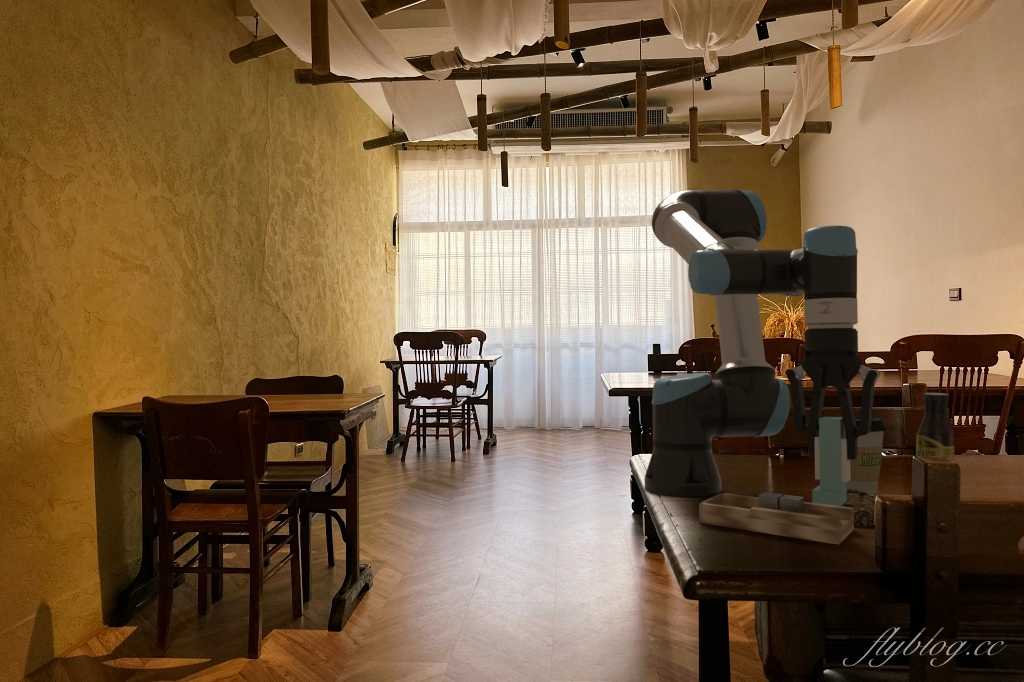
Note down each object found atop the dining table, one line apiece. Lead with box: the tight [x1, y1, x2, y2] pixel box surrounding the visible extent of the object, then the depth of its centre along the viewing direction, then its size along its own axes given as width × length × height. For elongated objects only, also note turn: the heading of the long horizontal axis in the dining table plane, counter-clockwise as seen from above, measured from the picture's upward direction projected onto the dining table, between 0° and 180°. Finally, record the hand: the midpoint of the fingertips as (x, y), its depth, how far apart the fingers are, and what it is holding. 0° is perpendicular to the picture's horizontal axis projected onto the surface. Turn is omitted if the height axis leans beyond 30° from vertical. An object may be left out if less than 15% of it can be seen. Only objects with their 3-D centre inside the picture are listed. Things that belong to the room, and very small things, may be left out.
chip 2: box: [780, 494, 805, 514], centre depth 112 cm, size 3×3×3 cm
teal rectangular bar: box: [811, 416, 847, 506], centre depth 108 cm, size 4×4×13 cm
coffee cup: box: [838, 415, 887, 495], centre depth 134 cm, size 10×10×15 cm
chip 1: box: [758, 491, 784, 510], centre depth 114 cm, size 3×3×3 cm
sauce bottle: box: [915, 392, 956, 462], centre depth 133 cm, size 6×6×20 cm
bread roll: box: [841, 489, 878, 528], centre depth 120 cm, size 13×12×5 cm
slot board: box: [698, 492, 855, 545], centre depth 114 cm, size 22×10×4 cm, turn 53°
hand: (832, 479), depth 108 cm, fingers closed on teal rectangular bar, 3 cm apart
